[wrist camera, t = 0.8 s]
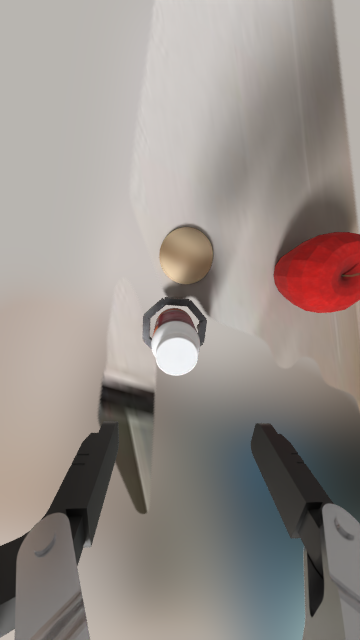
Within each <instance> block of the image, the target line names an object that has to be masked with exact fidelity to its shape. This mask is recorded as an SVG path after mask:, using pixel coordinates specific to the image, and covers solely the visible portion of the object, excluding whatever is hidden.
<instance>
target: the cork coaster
mask: <svg viewBox="0 0 360 640" xmlns="http://www.w3.org/2000/svg"><path fill="white" fill-rule="evenodd" d="M212 260H213V251H212V247H211V244H210V242H209V240H208V238H207V237H206V236H205V235H204V234H203V233H202V232H200V231H199V230H197V229H194V228H190V227H183V228H178V229H176V230H174V231H172V232H171V233H170V234H168V236H167V237H166V238H165V239H164V241H163V243H162V245H161V248H160V263H161V267H162V269H163V271H164V272H165V274H166V275H167V276H168V277H169V278H170V279H171V280H173V281H175V282H177V283H180V284H192V283H195V282H197V281H199V280H201V279H202V278H203V277H204V276H205V275H206V274H207V273H208V271H209V270H210V267H211V265H212Z"/></svg>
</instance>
